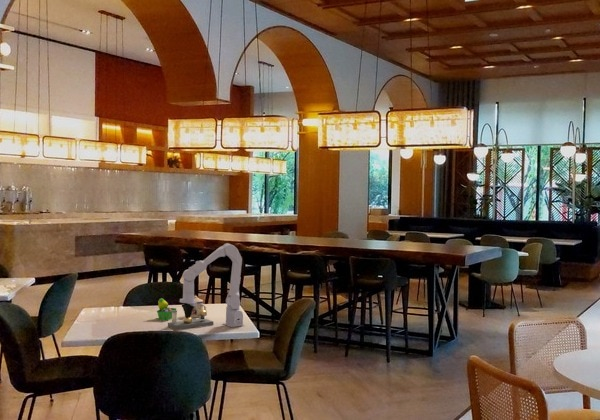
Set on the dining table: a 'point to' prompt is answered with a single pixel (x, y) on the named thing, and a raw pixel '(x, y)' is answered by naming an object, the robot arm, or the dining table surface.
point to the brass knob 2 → (202, 313)
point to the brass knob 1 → (188, 320)
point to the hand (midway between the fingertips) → (187, 317)
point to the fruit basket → (164, 310)
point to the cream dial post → (174, 316)
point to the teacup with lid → (197, 307)
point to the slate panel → (190, 324)
